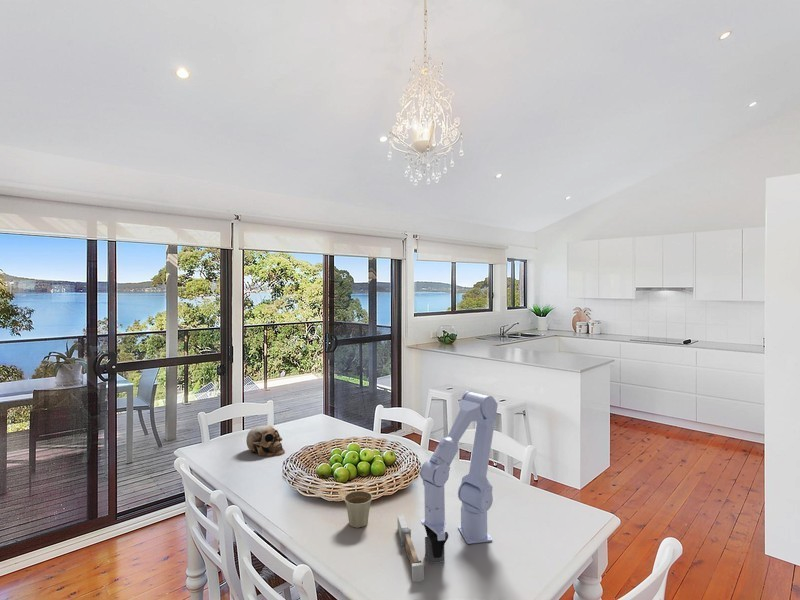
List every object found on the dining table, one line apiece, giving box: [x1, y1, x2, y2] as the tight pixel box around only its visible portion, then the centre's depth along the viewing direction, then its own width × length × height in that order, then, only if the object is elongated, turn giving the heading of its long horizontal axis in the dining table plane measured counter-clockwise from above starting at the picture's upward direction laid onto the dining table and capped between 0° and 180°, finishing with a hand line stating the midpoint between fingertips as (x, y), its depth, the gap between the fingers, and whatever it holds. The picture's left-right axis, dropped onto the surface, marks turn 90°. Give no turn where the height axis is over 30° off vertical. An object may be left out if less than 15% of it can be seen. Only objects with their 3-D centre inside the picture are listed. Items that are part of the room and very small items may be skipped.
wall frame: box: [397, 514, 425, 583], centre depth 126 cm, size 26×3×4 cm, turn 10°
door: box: [404, 534, 422, 568], centre depth 121 cm, size 14×2×4 cm, turn 10°
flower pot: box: [343, 490, 374, 528], centre depth 142 cm, size 9×9×9 cm
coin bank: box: [245, 425, 286, 457], centre depth 208 cm, size 16×17×13 cm
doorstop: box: [424, 536, 446, 564], centre depth 123 cm, size 4×4×5 cm
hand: (435, 551), depth 123 cm, fingers closed on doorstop, 4 cm apart
